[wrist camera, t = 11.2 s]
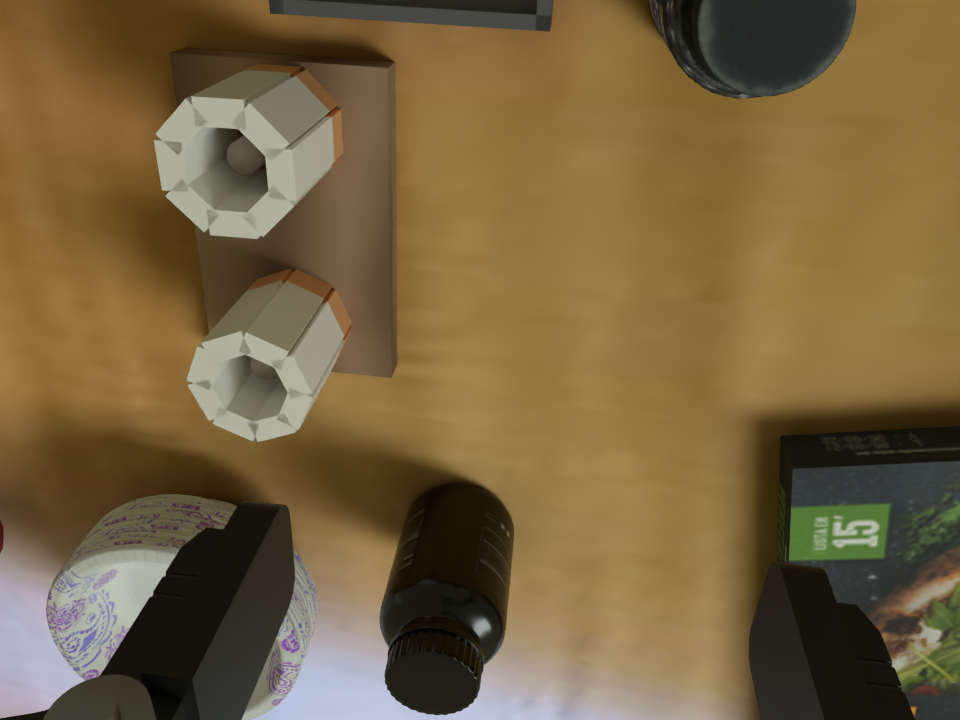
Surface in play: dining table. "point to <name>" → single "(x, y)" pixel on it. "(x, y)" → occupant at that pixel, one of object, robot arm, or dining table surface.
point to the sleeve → (270, 127)
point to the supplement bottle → (447, 597)
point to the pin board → (317, 207)
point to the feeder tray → (429, 11)
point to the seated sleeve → (270, 355)
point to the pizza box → (885, 543)
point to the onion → (1, 536)
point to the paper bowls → (135, 574)
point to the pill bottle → (753, 41)
